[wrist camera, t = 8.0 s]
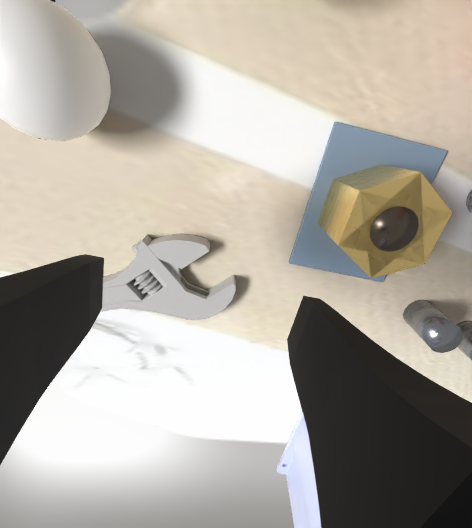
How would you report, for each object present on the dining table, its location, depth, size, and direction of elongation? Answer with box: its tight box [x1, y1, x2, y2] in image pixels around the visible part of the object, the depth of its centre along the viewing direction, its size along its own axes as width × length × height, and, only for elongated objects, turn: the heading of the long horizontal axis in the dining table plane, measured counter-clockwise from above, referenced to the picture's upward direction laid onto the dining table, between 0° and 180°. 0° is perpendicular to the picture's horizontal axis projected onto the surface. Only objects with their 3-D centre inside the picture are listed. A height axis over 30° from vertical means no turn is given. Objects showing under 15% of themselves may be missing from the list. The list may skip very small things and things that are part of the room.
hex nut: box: [317, 164, 452, 278], centre depth 16 cm, size 6×5×4 cm
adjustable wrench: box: [100, 234, 236, 320], centre depth 20 cm, size 25×6×2 cm, turn 97°
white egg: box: [0, 0, 111, 141], centre depth 13 cm, size 8×6×6 cm
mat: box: [289, 122, 447, 282], centre depth 18 cm, size 9×7×1 cm
